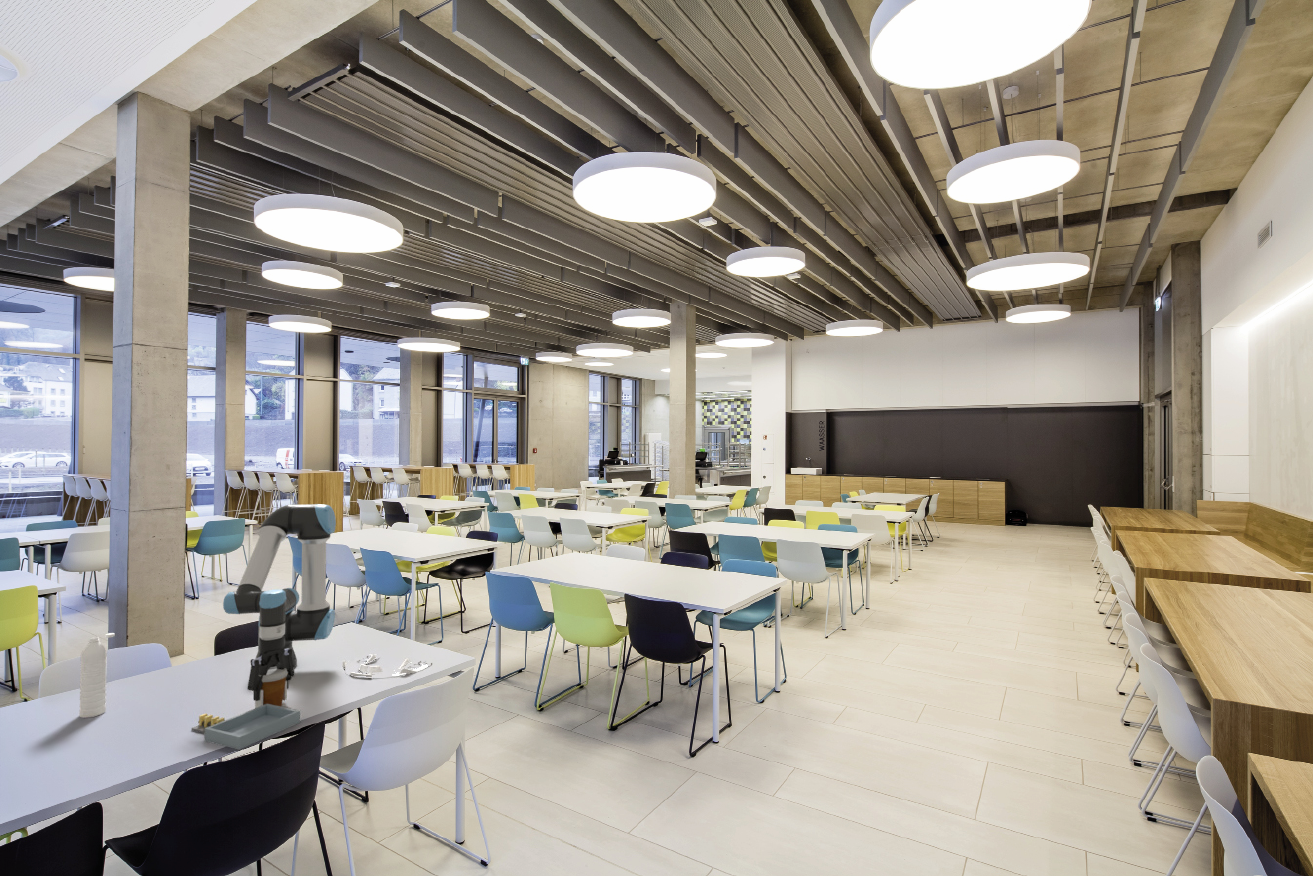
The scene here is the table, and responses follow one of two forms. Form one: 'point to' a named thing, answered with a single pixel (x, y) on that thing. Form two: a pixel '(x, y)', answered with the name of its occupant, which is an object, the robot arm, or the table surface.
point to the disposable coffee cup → (274, 686)
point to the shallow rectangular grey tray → (252, 726)
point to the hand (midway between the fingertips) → (271, 704)
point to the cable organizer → (378, 669)
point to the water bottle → (93, 678)
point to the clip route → (206, 722)
